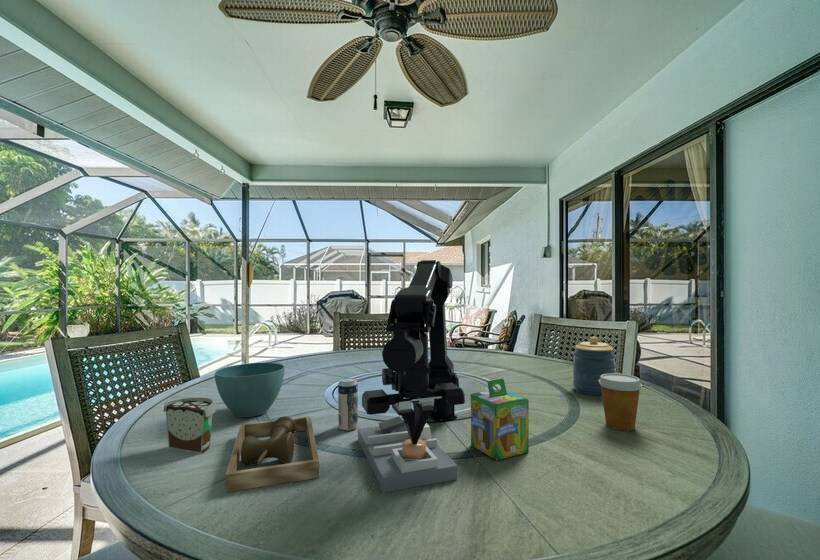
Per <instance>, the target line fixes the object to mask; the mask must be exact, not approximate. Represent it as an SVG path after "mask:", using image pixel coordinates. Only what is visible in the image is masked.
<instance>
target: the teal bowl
mask: <svg viewBox="0 0 820 560" xmlns="http://www.w3.org/2000/svg"><path fill="white" fill-rule="evenodd" d="M284 377H285V365H284V364H282V363H277V362H251V363H250V362H249V363H240V364H234V365H230V366H224V367H222V368H219V369H217V370H215V371H214V381H215V384H216V388H217V392H218V394H219V397H220V398H221V400H222V402H223V404H224V405H225V406H226V407H227V409H229V411H230V412H231V413H233V415H234V416H236V417H238V418H239V417H240V418H252V417H257V416H261V415H264V414H265V413H266V412H267V411H269V409H270V408H271V407H272V406H273V404H274V402H275V401H276V400H277V398H278V395H279V393H280V391H281V389H282V385H283V382H284Z"/></svg>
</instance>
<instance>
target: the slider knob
mask: <svg viewBox="0 0 820 560" xmlns="http://www.w3.org/2000/svg"><path fill="white" fill-rule="evenodd" d="M430 437H431V426H430V425H429V424H428V423H427V422H426V424H425V426H424V428H423V431H422V433H421V435H420V438H419V439H421V440H426V439H430Z"/></svg>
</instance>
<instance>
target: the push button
mask: <svg viewBox="0 0 820 560" xmlns="http://www.w3.org/2000/svg"><path fill="white" fill-rule="evenodd" d="M402 455H403V456H404V457H405V458H408V459H421V458H423V457H425V456H426V442H425V441H423V440H421V439H419V440H418V442H417V444H412V443H411V440H410V439H408V440H405V441H404V442H403V443H402Z"/></svg>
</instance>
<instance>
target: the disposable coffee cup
mask: <svg viewBox="0 0 820 560" xmlns="http://www.w3.org/2000/svg"><path fill="white" fill-rule="evenodd" d="M599 383H600V385H601V391H602V396H601V397H602V403H603V404H602V405H603V412H604V417H605V418H604V419H605V425H606V426H607V427H608V428H611V429H614V430H618V431H633V430H635V429H636V424H637V423H636V420H637V413H638V407H639V398H640V390H641V389H642V387H643V384H642V383H641V380H640V378H639V377H637V376H635V375H630V374H623V373H616V374H615V373H609V374H602V375H601V376H600V379H599Z"/></svg>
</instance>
